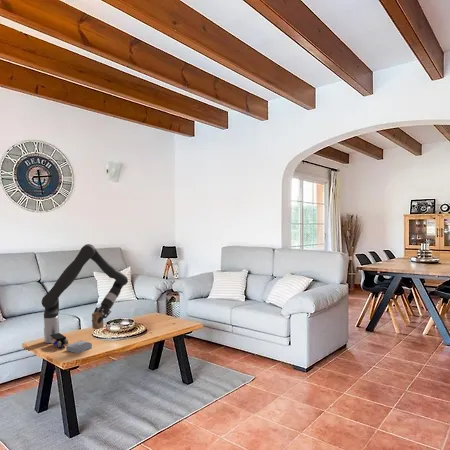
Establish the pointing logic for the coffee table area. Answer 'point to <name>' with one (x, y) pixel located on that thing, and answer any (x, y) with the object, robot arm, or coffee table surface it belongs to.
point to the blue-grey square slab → (79, 346)
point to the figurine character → (59, 340)
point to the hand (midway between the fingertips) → (95, 322)
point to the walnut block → (94, 320)
